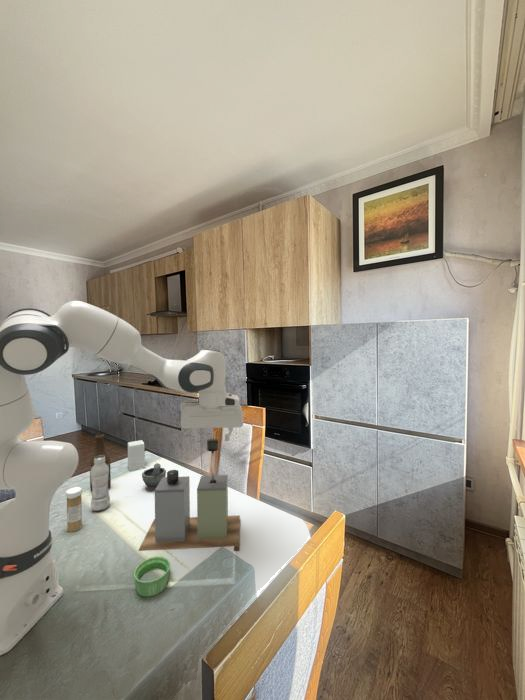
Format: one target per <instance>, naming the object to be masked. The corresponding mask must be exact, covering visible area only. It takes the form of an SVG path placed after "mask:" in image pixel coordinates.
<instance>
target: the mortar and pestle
mask: <svg viewBox="0 0 525 700" xmlns="http://www.w3.org/2000/svg"><path fill="white" fill-rule="evenodd" d="M141 477H142V481H143V483H144V484H145V486H146V490H147V489H148V490H147V491H149V490H150V492H155V489H156V487H157V486H158V484H159V482H160V481H161V479H162V477H167V470H166V469H165V468H164V467H162V466H161V464H160V463H157V462H156V463H155V464H153V467H150V468H148V469H145V470H143V472H142V474H141Z"/></svg>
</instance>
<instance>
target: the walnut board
mask: <svg viewBox="0 0 525 700" xmlns="http://www.w3.org/2000/svg"><path fill="white" fill-rule="evenodd" d="M240 519H241V516H240V515H228V527H227V539H213V540H198V528H197V516H193V517H191V516H190V525H189V528H188V531H187V535H186V538H185V541H170V542H155V518H154V519H153V521H152V523H151V525H150V527H149V529H148V531H147V532H146V534H145V537H144V539H143V540H142V542H141V544H140V547H139V548H138V552H143V551H144V552H145V551H161V550H184V549H203V548H221V547H222V548H224V547H226V548H227V547H233V552H236V551H238V552H239V551H240V529H241V528H240V526H241V525H240V523H241V522H240V521H241V520H240Z"/></svg>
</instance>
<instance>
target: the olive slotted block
mask: <svg viewBox="0 0 525 700" xmlns="http://www.w3.org/2000/svg"><path fill="white" fill-rule="evenodd" d="M228 478H229V476H228V474H222V475H221V474H218V475H215V483H212V478H211V475H201V476H200V479H199V482H198V484H197V489H196V501H197V502H196V503H197V504H196V505H197V506H196V507H197V508H196V509H197V511H196V513H197V515H196V517H197V528H198V540H213V539H227V527H228V516H229V506H228V505H229V500H228V499H229V495H228V493H229V492H228V490H229V489H228V488H229V487H228V484H229V483H228V481H229V480H228Z"/></svg>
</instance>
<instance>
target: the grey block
mask: <svg viewBox="0 0 525 700" xmlns="http://www.w3.org/2000/svg"><path fill="white" fill-rule="evenodd" d="M190 493H191V492H190V476H179V481H178V482H177V483H174V484H172V485H171V484H168V483H167V476H165V477H162V479H161V481H160V482H159V484H158V486H157V487H156V489H155V491H154V519H155V542H170V541H185V538H186V535H187V531H188V528H189V525H190V517H191V510H190V509H191V508H190V506H191V505H190V504H191V501H190Z"/></svg>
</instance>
